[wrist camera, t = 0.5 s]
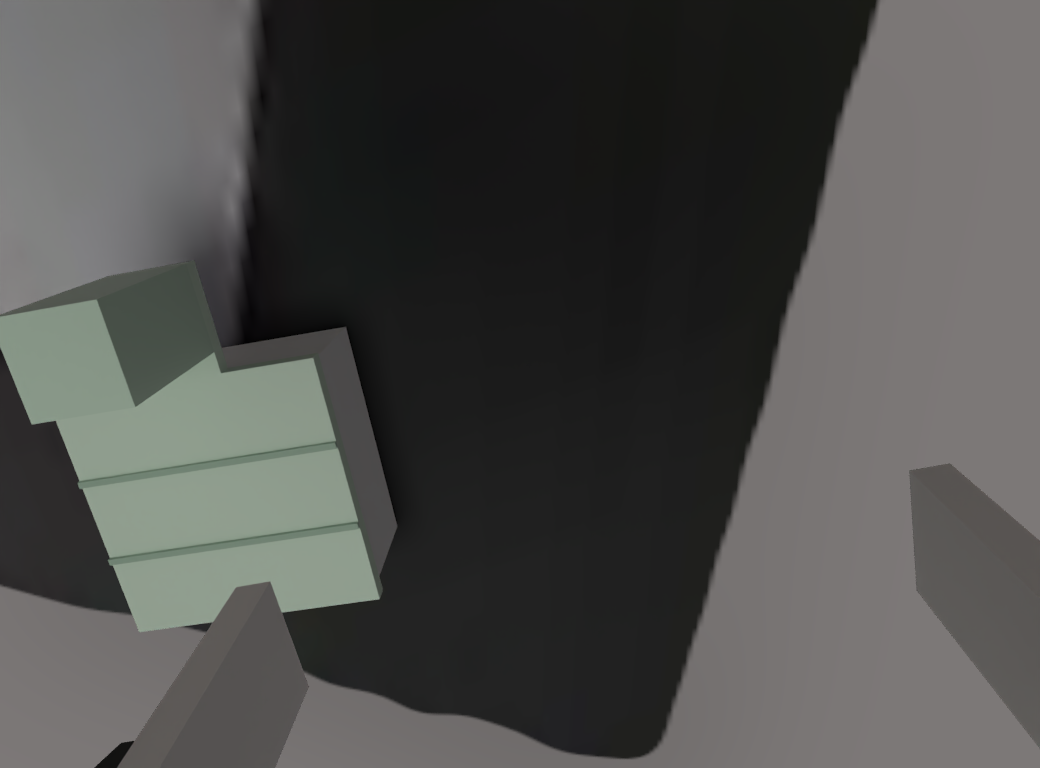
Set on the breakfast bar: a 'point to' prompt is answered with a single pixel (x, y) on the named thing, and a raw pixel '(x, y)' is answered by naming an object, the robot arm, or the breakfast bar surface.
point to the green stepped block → (192, 449)
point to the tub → (339, 420)
